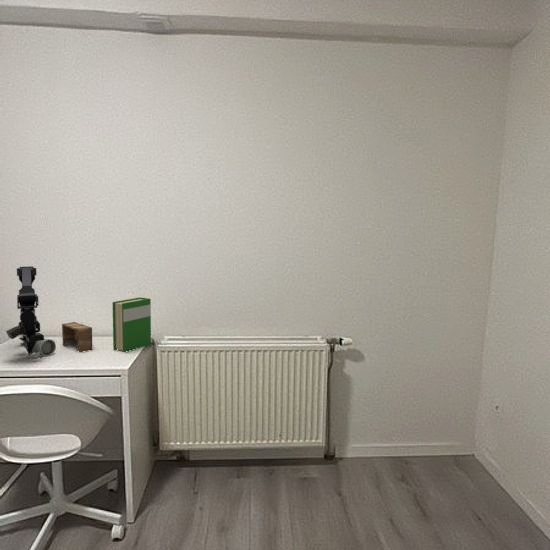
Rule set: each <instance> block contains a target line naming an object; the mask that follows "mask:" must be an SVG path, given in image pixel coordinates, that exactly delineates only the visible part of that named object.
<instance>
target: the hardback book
mask: <svg viewBox="0 0 550 550" xmlns="http://www.w3.org/2000/svg"><path fill="white" fill-rule="evenodd" d="M151 302H152V300H151V298H147V297H133V298H128V299H127V298H126V299H122V300H115V301H112V338H113V339H112V340H113V343H112V345H113V347H112V348H113V351H114V350H115V351H122V353H123V352H125V353H127V352H126V351H128V352H130V351H129V350H131V351H134V350H133V349H135V350H137V349H136V348H138V349H141V348H144V347H147V346H151V345H152V313H151V312H152V310H151V309H152V308H151V307H152V304H151ZM140 347H141V348H140ZM117 349H118V350H117Z"/></svg>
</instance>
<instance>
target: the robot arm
mask: <svg viewBox="0 0 550 550" xmlns="http://www.w3.org/2000/svg"><path fill="white" fill-rule="evenodd" d="M36 276H37V268H36V267H34V266H19V267H18V268H16V277H18V280H19V282H20V283H21V288H20V289H19V290H18V294H17V295H16V297H17V298H16V300H17V301H16V303H17V306H16V307H17V310H20V315H19V320H20V321H19V322H18V325H17V326H14V327H11V328H10V329H7V330H5V332H6V335H7V337H8V338H9V339H12V340H14V339H15V338H17V337H19V336H20V337H19V338H18V339H19V340H20V341H22V342H20V345H21V344H22V346H24V347H25V350H26V352H27V354H28V353H31V352H32V350H33V347H34V345H35V344H36V342H37V341H41V340H44V339H45V336H44V335H43V333H40V332H41V323H40V321H39V320H37V319H38V317H37V315H36V309H37V308H38V306H40V305H39V303H40V302H39V296H38V294H36V291H35V288H33V283H34V281H35V280H36Z"/></svg>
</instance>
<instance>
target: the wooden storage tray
mask: <svg viewBox="0 0 550 550" xmlns="http://www.w3.org/2000/svg"><path fill="white" fill-rule="evenodd" d="M61 330H62V332H61V333H62V334H61V335H62V346H63V347H65V346H66V347H75V346H76V345H77V346H76V348H77V352H78V351H79V352H78V353H84V352H83V351H85V352H88V350H90V351H92V349H94V348H93V327H92V326H89V325H85V324H82V323H79V322H76V321H72V322H65V323H61Z"/></svg>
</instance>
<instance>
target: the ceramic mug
mask: <svg viewBox="0 0 550 550" xmlns="http://www.w3.org/2000/svg"><path fill="white" fill-rule="evenodd" d="M56 349H57V345H56V342H55V341H54V340H53V339H51V338H44V340H41V341H37V342H36V344H35V345H34V347H33V350H32V352H31V353H27V356H28V357H29V358H30V359H33V358H36V357H39V356H43V357H49V356H51V355H53V354H54V353H55V351H56Z"/></svg>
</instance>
